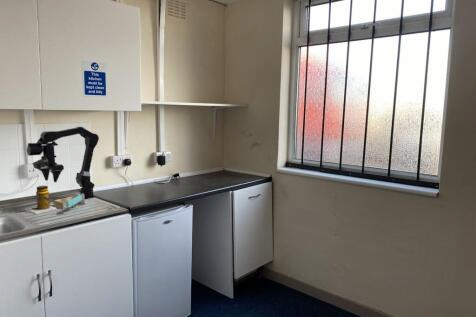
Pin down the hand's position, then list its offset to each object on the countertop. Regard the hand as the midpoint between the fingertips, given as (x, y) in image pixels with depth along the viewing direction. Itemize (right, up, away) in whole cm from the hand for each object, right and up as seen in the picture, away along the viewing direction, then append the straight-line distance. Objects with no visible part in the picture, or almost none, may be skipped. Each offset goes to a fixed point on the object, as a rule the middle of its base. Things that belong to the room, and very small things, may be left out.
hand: (50, 181), depth 205 cm
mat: (0, -15, -10) cm, 18 cm away
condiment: (0, -14, -10) cm, 17 cm away
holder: (+10, -13, 0) cm, 17 cm away
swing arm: (+18, -11, -9) cm, 23 cm away
